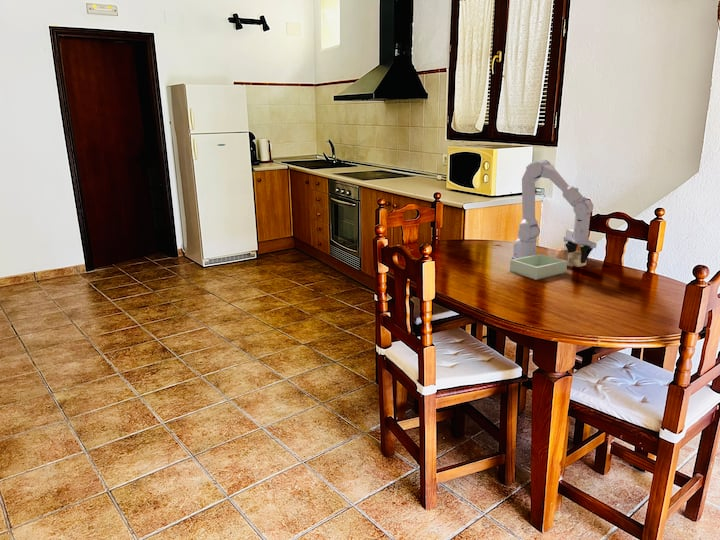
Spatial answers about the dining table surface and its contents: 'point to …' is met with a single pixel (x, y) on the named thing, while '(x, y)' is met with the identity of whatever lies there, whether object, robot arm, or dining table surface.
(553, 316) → the dining table surface
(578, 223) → the robot arm
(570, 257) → the birch cube
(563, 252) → the terracotta capsule
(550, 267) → the tote
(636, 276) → the dining table surface
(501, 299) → the dining table surface
